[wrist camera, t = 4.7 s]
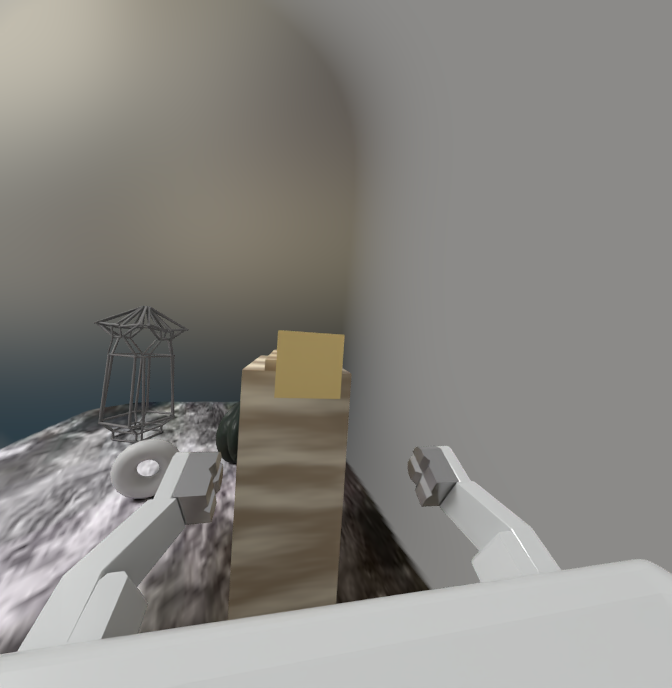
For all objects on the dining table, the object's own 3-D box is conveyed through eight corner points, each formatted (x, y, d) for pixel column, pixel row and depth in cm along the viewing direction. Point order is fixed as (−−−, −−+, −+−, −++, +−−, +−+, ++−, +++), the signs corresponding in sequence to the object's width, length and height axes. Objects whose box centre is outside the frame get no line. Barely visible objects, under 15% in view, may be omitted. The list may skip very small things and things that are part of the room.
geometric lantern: (80, 443, 60) (89, 299, 60) (141, 423, 76) (148, 309, 76) (135, 451, 57) (144, 301, 58) (187, 429, 73) (194, 311, 73)
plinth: (333, 636, 24) (352, 363, 24) (225, 655, 22) (242, 358, 22) (315, 518, 40) (326, 352, 40) (251, 523, 38) (261, 349, 38)
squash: (258, 458, 47) (281, 390, 57) (190, 450, 50) (223, 386, 60) (280, 477, 58) (295, 417, 68) (222, 469, 61) (246, 412, 70)
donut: (104, 510, 39) (107, 447, 39) (113, 496, 42) (116, 438, 42) (179, 496, 43) (182, 440, 43) (182, 485, 46) (184, 432, 46)
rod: (340, 399, 13) (344, 334, 13) (274, 397, 13) (278, 330, 13) (305, 357, 39) (307, 335, 39) (282, 356, 38) (284, 334, 38)
